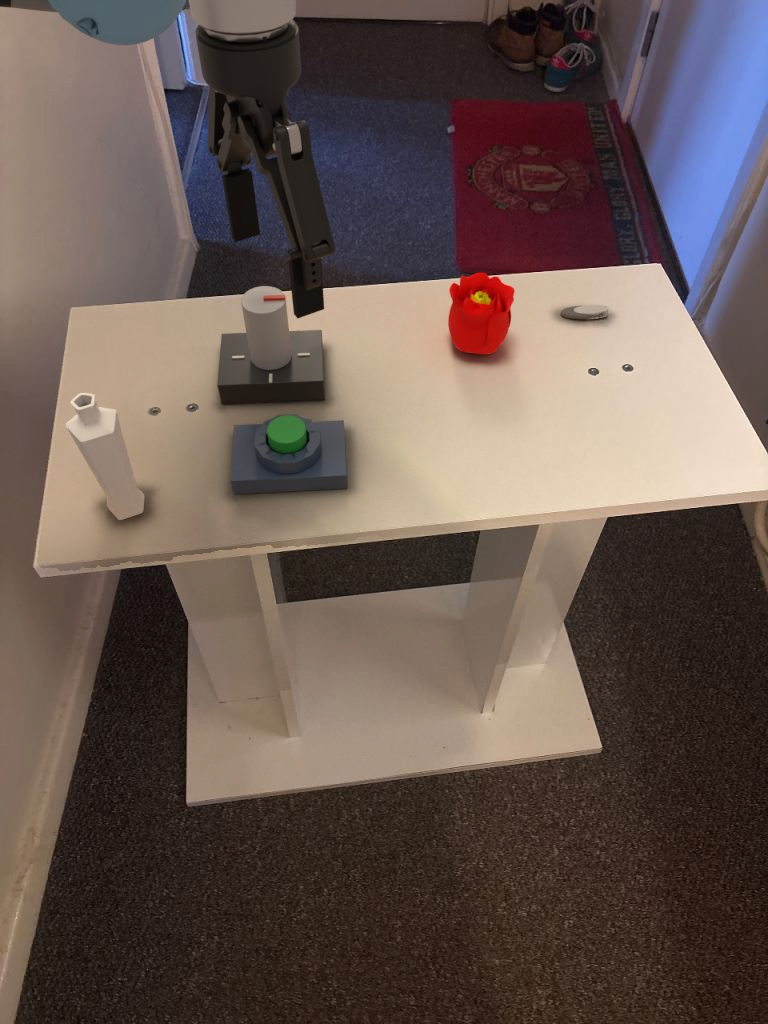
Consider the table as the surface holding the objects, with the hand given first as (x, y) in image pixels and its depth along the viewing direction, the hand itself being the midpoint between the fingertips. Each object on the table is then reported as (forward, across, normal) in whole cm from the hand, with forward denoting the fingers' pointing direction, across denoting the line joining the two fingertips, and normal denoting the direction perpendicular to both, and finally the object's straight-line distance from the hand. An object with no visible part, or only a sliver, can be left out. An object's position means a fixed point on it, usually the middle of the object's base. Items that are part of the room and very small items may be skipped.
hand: (276, 272), depth 72 cm
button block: (+19, -7, +4) cm, 20 cm away
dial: (+16, +7, -1) cm, 17 cm away
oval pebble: (+19, -3, -41) cm, 45 cm away
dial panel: (+19, +7, -1) cm, 20 cm away
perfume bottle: (+19, -3, +21) cm, 28 cm away
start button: (+15, -7, +4) cm, 17 cm away
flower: (+19, -1, -25) cm, 31 cm away
